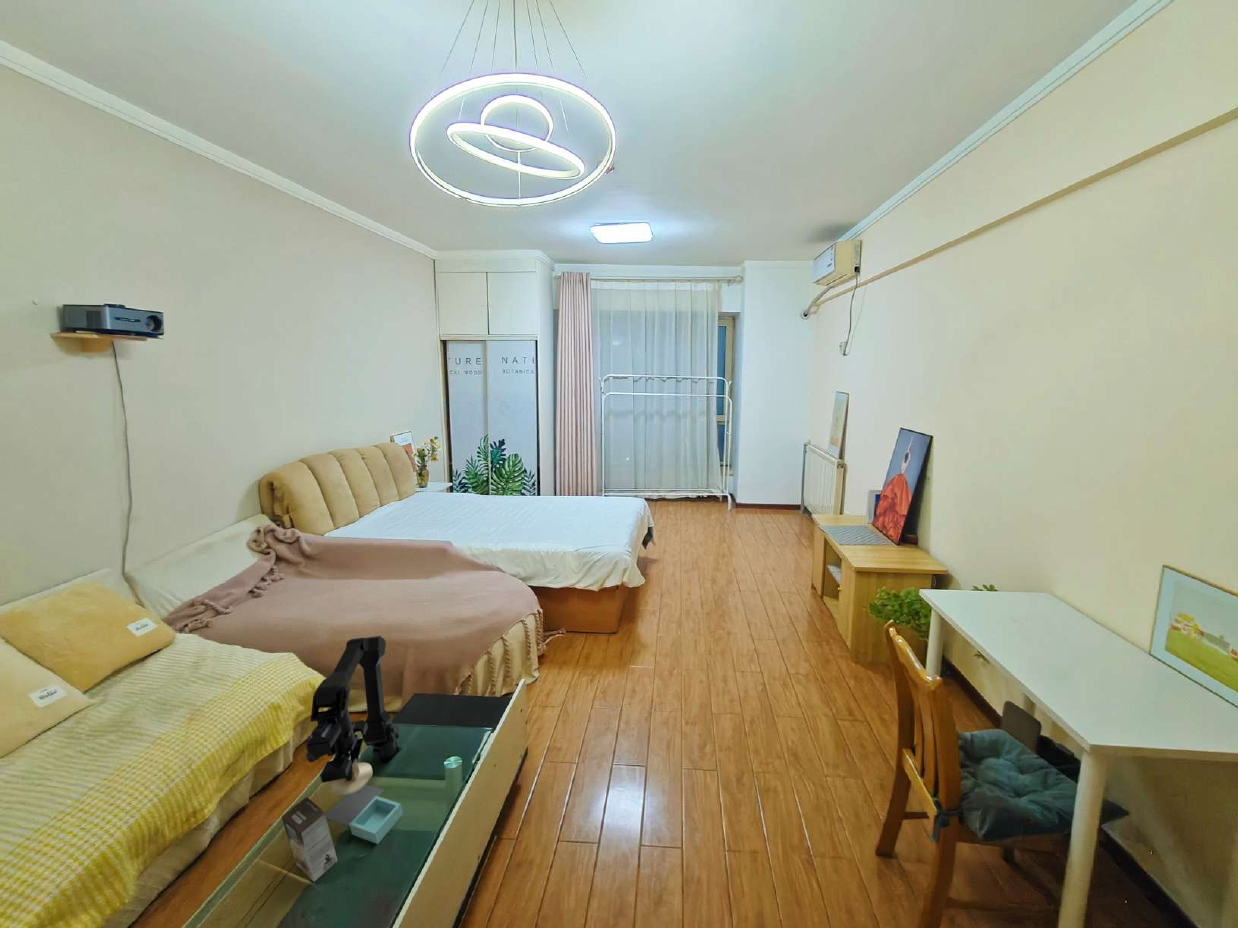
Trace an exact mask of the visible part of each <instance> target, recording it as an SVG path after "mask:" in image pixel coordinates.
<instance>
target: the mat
mask: <svg viewBox="0 0 1238 928" xmlns="http://www.w3.org/2000/svg"><path fill="white" fill-rule="evenodd" d="M384 791H385V790H384V789H382V788H379V787H376V786H373V785H369V784H368V783H367V784H366V785H365V786H364V787H363V788H361V789H360V790H358V791H357V792H355V793H352V794H350V795H345V796H342V798H341V799H339V801H338V802H337V803H336V804H335V805H334V806H333V807H332V808H331V809H330V810H329V811H328V812H327V813H325V816H326V820H330V821H333V822H335V823H338V824H341V825H344V826H346V827H349V828H350V825H349V824H350V823H351V822H352V821H353V820H354V819H355V818H356V817H357V816H358V814H359V813H360V812H361V811H362V810H363V809H364V808H365V807H366V806H367V805H368V804H369V803H370V802H371V801H372V800H373V798H374V797H375V796H378V797H380V796H381V795H382V793H383V792H384Z"/></svg>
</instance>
